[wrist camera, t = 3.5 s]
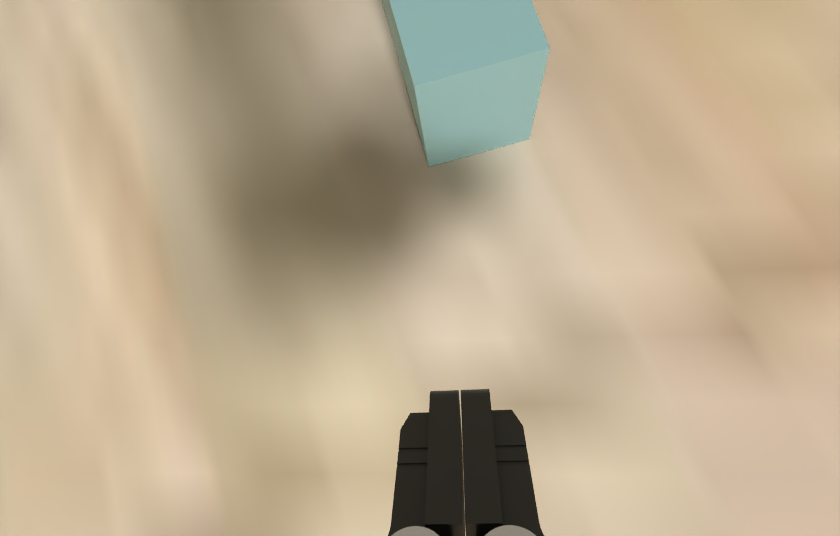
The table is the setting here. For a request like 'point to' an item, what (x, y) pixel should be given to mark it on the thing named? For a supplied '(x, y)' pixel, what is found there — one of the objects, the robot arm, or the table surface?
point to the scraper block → (469, 71)
